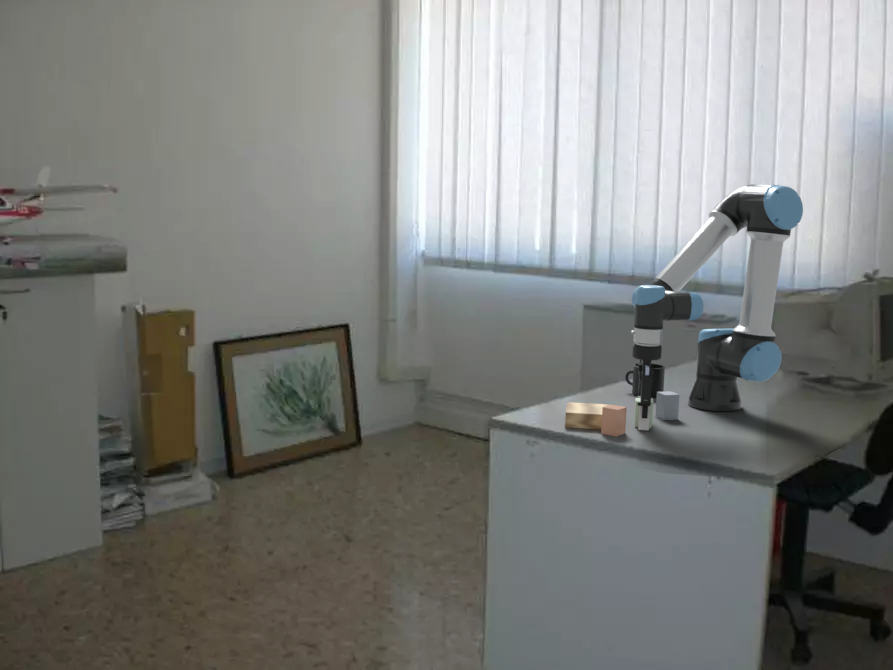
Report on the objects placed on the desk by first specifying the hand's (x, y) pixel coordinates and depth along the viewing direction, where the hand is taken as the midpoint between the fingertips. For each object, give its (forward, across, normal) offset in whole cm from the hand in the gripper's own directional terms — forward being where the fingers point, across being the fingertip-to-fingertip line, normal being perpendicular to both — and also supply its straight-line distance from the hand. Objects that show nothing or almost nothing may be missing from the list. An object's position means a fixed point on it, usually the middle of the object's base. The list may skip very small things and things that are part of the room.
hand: (642, 424), depth 275 cm
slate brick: (0, -11, +7) cm, 13 cm away
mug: (0, -42, +2) cm, 42 cm away
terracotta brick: (0, +11, -8) cm, 14 cm away
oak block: (0, +1, -14) cm, 14 cm away
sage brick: (0, 0, 0) cm, 0 cm away
